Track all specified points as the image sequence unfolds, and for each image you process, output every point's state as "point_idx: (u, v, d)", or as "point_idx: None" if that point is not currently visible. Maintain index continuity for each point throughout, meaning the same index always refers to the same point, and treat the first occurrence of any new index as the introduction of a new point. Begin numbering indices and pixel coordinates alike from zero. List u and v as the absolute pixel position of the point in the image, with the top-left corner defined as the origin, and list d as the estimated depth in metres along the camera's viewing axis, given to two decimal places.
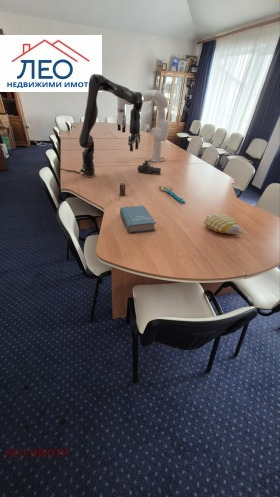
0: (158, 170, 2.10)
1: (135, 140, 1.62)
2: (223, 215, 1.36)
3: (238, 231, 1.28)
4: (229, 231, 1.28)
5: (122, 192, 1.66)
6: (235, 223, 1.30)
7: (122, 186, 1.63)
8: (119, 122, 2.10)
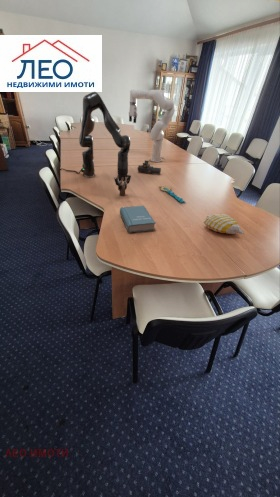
0: (158, 170, 2.10)
1: None
2: (223, 215, 1.36)
3: (238, 231, 1.28)
4: (229, 231, 1.28)
5: (122, 192, 1.66)
6: (235, 223, 1.30)
7: (122, 186, 1.63)
8: (131, 114, 2.42)
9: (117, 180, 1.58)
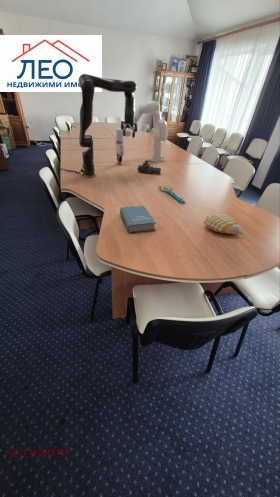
0: (158, 170, 2.10)
1: (127, 127, 1.73)
2: (223, 215, 1.36)
3: (238, 231, 1.28)
4: (229, 231, 1.28)
5: None
6: (235, 223, 1.30)
7: None
8: (117, 152, 2.25)
9: None
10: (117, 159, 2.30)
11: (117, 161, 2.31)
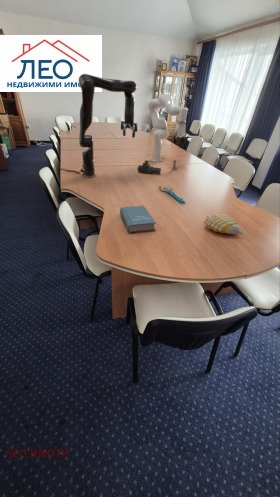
0: (158, 170, 2.10)
1: (127, 127, 1.73)
2: (223, 215, 1.36)
3: (238, 231, 1.28)
4: (229, 231, 1.28)
5: None
6: (235, 223, 1.30)
7: None
8: (181, 134, 2.11)
9: None
10: (176, 164, 2.28)
11: (175, 166, 2.29)
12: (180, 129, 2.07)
